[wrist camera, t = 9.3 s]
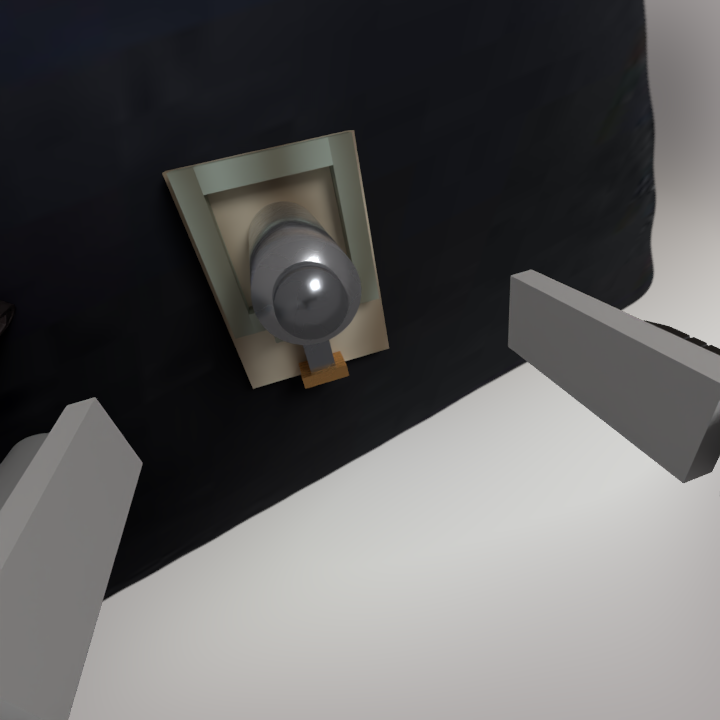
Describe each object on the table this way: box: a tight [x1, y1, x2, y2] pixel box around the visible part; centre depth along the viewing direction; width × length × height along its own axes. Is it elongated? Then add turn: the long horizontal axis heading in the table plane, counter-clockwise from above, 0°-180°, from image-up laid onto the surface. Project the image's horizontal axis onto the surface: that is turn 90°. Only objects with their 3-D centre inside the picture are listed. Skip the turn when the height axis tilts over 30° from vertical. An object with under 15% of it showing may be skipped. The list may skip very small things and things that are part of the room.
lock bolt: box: [299, 340, 349, 389], centre depth 30 cm, size 4×5×2 cm
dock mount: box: [162, 130, 389, 389], centre depth 28 cm, size 12×16×4 cm
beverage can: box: [0, 433, 49, 510], centre depth 27 cm, size 6×6×12 cm
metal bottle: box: [248, 201, 361, 345], centre depth 21 cm, size 5×5×12 cm
